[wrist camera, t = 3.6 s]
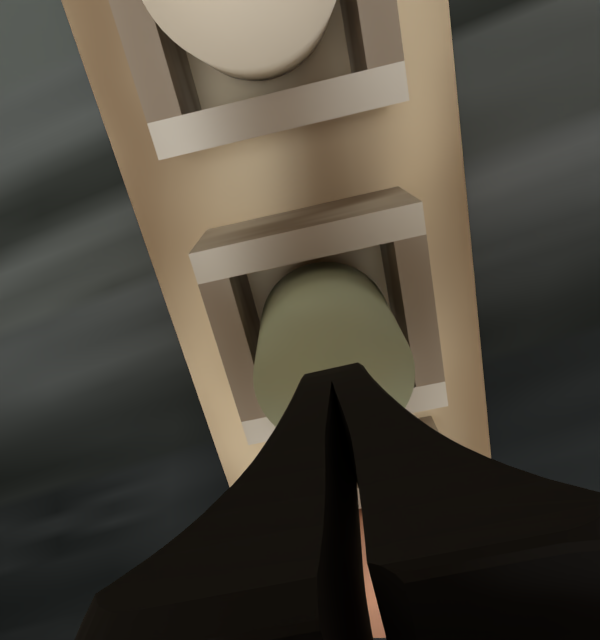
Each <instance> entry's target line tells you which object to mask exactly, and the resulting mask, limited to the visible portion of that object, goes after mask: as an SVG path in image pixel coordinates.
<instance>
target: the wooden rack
mask: <svg viewBox="0 0 600 640" xmlns="http://www.w3.org/2000/svg"><path fill="white" fill-rule="evenodd" d="M61 1H62V4H63V7H64V9H65V12H66V15H67V18H68V21H69V24H70V27H71V30H72V33H73V35H74V38H75V41H76V44H77V47H78V50H79V53H80V56H81V59H82V62H83V64H84V67H85V70H86V73H87V76H88V79H89V82H90V85H91V88H92V90H93V93H94V96H95V99H96V102H97V105H98V108H99V111H100V114H101V116H102V119H103V122H104V125H105V128H106V131H107V134H108V137H109V140H110V143H111V145H112V148H113V151H114V154H115V157H116V160H117V163H118V166H119V169H120V171H121V174H122V177H123V180H124V183H125V186H126V189H127V192H128V195H129V197H130V200H131V203H132V206H133V209H134V212H135V215H136V218H137V221H138V224H139V226H140V229H141V232H142V235H143V238H144V241H145V244H146V247H147V250H148V252H149V255H150V258H151V261H152V264H153V267H154V270H155V273H156V276H157V278H158V281H159V284H160V287H161V290H162V293H163V296H164V299H165V302H166V304H167V307H168V310H169V313H170V316H171V319H172V322H173V325H174V328H175V331H176V333H177V336H178V339H179V342H180V345H181V348H182V351H183V354H184V357H185V359H186V362H187V365H188V368H189V371H190V374H191V377H192V380H193V383H194V385H195V388H196V391H197V394H198V397H199V400H200V403H201V406H202V409H203V412H204V414H205V417H206V420H207V423H208V426H209V429H210V432H211V435H212V438H213V440H214V443H215V446H216V449H217V452H218V455H219V458H220V461H221V464H222V466H223V469H224V472H225V475H226V478H227V481H228V484H229V487H231V486H232V485H233V484H234V483H235V481H236V480H237V479H238V478H239V477H240V476H241V475H242V473H243V472H244V471H245V470H246V469H247V468H248V466H249V465H250V464H251V463H252V461H253V460H254V459H255V457H256V456H257V455H258V453H259V452H260V450H261V449H262V447H263V446H264V444H265V443H266V441H267V440H268V438H269V437H270V435H271V434H272V432H273V431H274V429H275V428H276V427H275V426H274V425H273V424H272V423H271V422H270V421H269V420H268V418H267V417H266V416H265V414H264V413H263V411H262V409H261V407H260V406H259V404H258V401H257V398H256V396H255V391H254V386H253V371H254V363H255V356H256V350H257V343H258V337H259V330H260V324H261V317H262V312H263V307H264V304H265V302H266V299H267V297H268V295H269V293H270V292H271V290H272V289H273V288H274V286H275V285H276V284H277V283H278V282H279V281H280V280H281V279H282V278H283V277H284V276H286V275H287V274H288V273H290V272H292V271H293V270H295V269H297V268H299V267H302V266H304V265H308V264H311V263H317V262H336V263H341V264H346V265H349V266H351V267H354V268H356V269H358V270H360V271H361V272H363V273H364V274H366V275H367V276H368V277H369V278H370V279H372V280H373V281H374V282H375V284H376V285H377V286H378V288H379V289H380V291H381V292H382V294H383V296H384V298H385V300H386V302H387V304H388V306H389V308H390V310H391V311H392V313H393V315H394V317H395V319H396V321H397V323H398V325H399V327H400V329H401V331H402V333H403V335H404V337H405V339H406V341H407V343H408V345H409V347H410V349H411V352H412V355H413V359H414V363H415V383H414V387H413V392H412V394H411V397H410V400H409V402H408V404H407V405H406V407H405V409H407V410H408V411H409V412H410V413H412V414H413V415H415V416H416V417H417V418H419V419H420V420H421V421H423V422H424V423H425V424H427V425H428V426H430V427H431V428H433V429H434V430H436V431H437V432H439V433H441V434H442V435H444V436H446V437H447V438H449V439H451V440H453V441H455V442H456V443H458V444H460V445H462V446H464V447H466V448H469V449H471V450H473V451H475V452H477V453H480V454H482V455H484V456H486V457H488V458H491V451H490V440H489V430H488V419H487V408H486V397H485V387H484V376H483V365H482V355H481V344H480V333H479V323H478V312H477V301H476V290H475V280H474V269H473V258H472V248H471V237H470V226H469V216H468V205H467V194H466V183H465V173H464V162H463V151H462V141H461V130H460V119H459V109H458V98H457V87H456V76H455V66H454V55H453V44H452V34H451V23H450V12H449V2H448V0H336V3H335V5H334V8H333V11H332V13H331V16H330V19H329V21H328V24H327V27H326V29H325V32H324V34H323V36H322V38H321V40H320V42H319V43H318V45H317V46H316V48H315V49H314V51H313V52H312V53H311V54H310V55H309V57H308V58H307V59H306V60H305V61H304V62H303V63H301V64H300V65H299V66H298V67H296V68H295V69H293V70H292V71H291V72H289V73H287V74H285V75H283V76H280V77H277V78H274V79H271V80H265V81H245V80H239V79H236V78H232V77H229V76H227V75H225V74H222V73H221V72H219V71H217V70H215V69H214V68H212V67H211V66H209V65H207V64H206V63H204V62H203V61H201V60H200V59H198V58H196V57H195V56H193V55H192V54H190V53H189V52H187V51H185V50H184V49H183V48H181V47H180V46H179V45H178V44H176V43H175V42H174V41H173V40H172V39H171V38H170V37H169V36H168V35H167V34H166V33H165V32H164V31H163V30H162V29H161V28H160V27H159V25H158V24H157V23H156V22H155V20H154V19H153V18H152V16H151V15H150V13H149V12H148V10H147V8H146V7H145V5H144V4H143V1H142V0H61ZM357 491H358V505H359V509H361V502H360V494H359V488H358V484H357Z"/></svg>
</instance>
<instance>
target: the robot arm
mask: <svg viewBox="0 0 600 640" xmlns="http://www.w3.org/2000/svg"><path fill="white" fill-rule="evenodd" d="M357 484H358V488H359V494H360V502H361V510H362V518H363V528H364V537H365V547H366V559H367V565H368V569H369V573H370V577H371V581H372V584H373V588H374V592H375V596H376V600H377V604H378V608H379V612H380V615H381V619H382V623H383V627H384V631H385V635H386V639H387V640H600V492H596V491H592V490H589V489H585V488H581V487H577V486H573V485H569V484H565V483H561V482H557V481H554V480H550V479H546V478H543V477H540V476H537V475H534V474H531V473H528V472H525V471H522V470H520V469H517V468H514V467H511V466H508V465H506V464H503V463H501V462H498V461H496V460H493V459H491V458H488V457H486V456H484V455H482V454H480V453H477V452H475V451H473V450H471V449H469V448H466V447H464V446H462V445H460V444H458V443H456V442H455V441H453V440H451V439H449V438H447V437H446V436H444V435H442V434H441V433H439V432H437V431H436V430H434V429H433V428H431V427H430V426H428V425H427V424H425V423H424V422H423V421H421V420H420V419H419V418H417V417H416V416H415V415H413V414H412V413H410V412H409V411H408V410H407V409H405V408H404V407H403V406H402V405H401V404H399V403H398V402H397V401H396V400H395V399H394V398H393V397H392V396H390V395H389V394H388V393H387V392H386V391H385V390H384V389H383V388H382V387H381V386H380V385H379V384H378V383H377V382H376V381H375V380H374V379H373V378H372V376H371V375H370V374H369V373H368V372H367V370H366V369H365V367H364V366H363V365H361V364H360V363H358V362H357V363H353V364H348V365H344V366H339V367H334V368H330V369H325V370H321V371H316V372H312V373H307V374H304V375H303V377H302V378H301V380H300V382H299V384H298V386H297V389H296V391H295V393H294V395H293V397H292V399H291V401H290V403H289V405H288V407H287V408H286V410H285V412H284V414H283V415H282V417H281V419H280V421H279V422H278V424H277V426H276V428H275V429H274V431H273V432H272V434H271V435H270V437H269V438H268V440H267V441H266V443H265V444H264V446H263V447H262V449H261V450H260V452H259V453H258V455H257V456H256V457H255V459H254V460H253V461H252V463H251V464H250V465H249V466H248V468H247V469H246V470H245V471H244V472H243V473H242V475H241V476H240V477H239V478H238V479H237V480H236V481H235V483H234V484H233V485H232V486H231V487H230V488H229V489H228V490H227V491H226V492H225V493H224V494H223V495H222V496H221V497H220V498H219V499H218V500H217V501H216V502H215V503H214V504H213V505H212V506H211V507H210V508H209V509H208V510H207V511H206V512H205V513H204V514H202V515H201V516H200V517H199V518H198V519H197V520H196V521H194V522H193V523H192V524H191V525H190V526H189V527H187V528H186V529H185V530H184V531H183V532H182V533H180V534H179V535H178V536H177V537H175V538H174V539H173V540H172V541H170V542H169V543H168V544H167V545H165V546H164V547H163V548H161V549H160V550H159V551H157V552H156V553H155V554H153V555H152V556H151V557H149V558H148V559H147V560H145V561H144V562H142V563H141V564H139V565H138V566H136V567H135V568H133V569H132V570H131V571H129V572H128V573H126V574H125V575H123V576H122V577H120V578H119V579H117V580H116V581H115V582H113V583H112V584H110V585H109V586H107V587H106V588H104V589H102V590H101V591H99V592H98V593H96V594H95V596H94V598H93V601H92V603H91V605H90V607H89V609H88V611H87V613H86V615H85V617H84V619H83V622H82V624H81V626H80V628H79V631H78V633H77V636H76V638H75V640H373V635H372V629H371V623H370V617H369V611H368V605H367V599H366V592H365V583H364V574H363V560H362V546H361V532H360V518H359V505H358V491H357Z"/></svg>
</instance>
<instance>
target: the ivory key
mask: <svg viewBox="0 0 600 640" xmlns="http://www.w3.org/2000/svg"><path fill="white" fill-rule="evenodd" d="M142 1H143V4H144V5H145V7H146V8H147V10H148V12H149V13H150V15H151V16H152V18H153V19H154V20H155V22H156V23H157V24H158V25H159V27H160V28H161V29H162V30H163V31H164V32H165V33H166V34H167V35H168V36H169V37H170V38H171V39H172V40H173V41H174V42H175V43H176V44H178V45H179V46H180V47H181V48H183V49H184V50H185V51H187V52H189V53H190V54H192V55H193V56H195V57H196V58H198V59H200V60H201V61H203V62H204V63H206V64H207V65H209V66H211V67H212V68H214V69H215V70H217V71H219V72H221V73H222V74H225V75H227V76H229V77H232V78H236V79H239V80H245V81H265V80H271V79H274V78H277V77H280V76H283V75H285V74H287V73H289V72H291V71H292V70H293V69H295V68H296V67H298V66H299V65H300V64H301V63H303V62H304V61H305V60H306V59H307V58H308V57H309V55H310V54H311V53H312V52H313V51H314V49H315V48H316V46H317V45H318V43H319V42H320V40H321V38H322V36H323V34H324V32H325V29H326V27H327V24H328V21H329V19H330V16H331V13H332V11H333V8H334V5H335V3H336V0H142Z"/></svg>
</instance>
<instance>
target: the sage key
mask: <svg viewBox="0 0 600 640" xmlns="http://www.w3.org/2000/svg"><path fill="white" fill-rule="evenodd" d="M357 362H358V363H360V364H361V365H363V366H364V367H365V369H366V370H367V372H368V373H369V374H370V375H371V376H372V378H373V379H374V380H375V381H376V382H377V383H378V384H379V385H380V386H381V387H382V388H383V389H384V390H385V391H386V392H387V393H388V394H389V395H390V396H392V397H393V398H394V399H395V400H396V401H397V402H398V403H399V404H401V405H402V406H403V407H404V408H405V407H406V405H407V404H408V402H409V400H410V397H411V394H412V392H413V387H414V383H415V363H414V359H413V355H412V352H411V349H410V347H409V345H408V343H407V341H406V339H405V337H404V335H403V333H402V331H401V329H400V327H399V325H398V323H397V321H396V319H395V317H394V315H393V313H392V311H391V310H390V308H389V306H388V304H387V302H386V300H385V298H384V296H383V294H382V292H381V291H380V289H379V288H378V286H377V285H376V284H375V282H374V281H373V280H372V279H370V278H369V277H368V276H367V275H366V274H364V273H363V272H361V271H360V270H358V269H356V268H354V267H351V266H349V265H346V264H341V263H336V262H317V263H311V264H308V265H304V266H302V267H299V268H297V269H295V270H293V271H292V272H290V273H288V274H287V275H286V276H284V277H283V278H282V279H281V280H280V281H279V282H278V283H277V284H276V285H275V286H274V288H273V289H272V290H271V292H270V293H269V295H268V297H267V299H266V302H265V304H264V307H263V312H262V317H261V324H260V330H259V337H258V343H257V350H256V356H255V363H254V371H253V386H254V391H255V396H256V398H257V401H258V404H259V406H260V407H261V409H262V411H263V413H264V414H265V416H266V417H267V418H268V420H269V421H270V422H271V423H272V424H273V425H274V426H275V427H276V426H277V424H278V422H279V421H280V419H281V417H282V415H283V414H284V412H285V410H286V408H287V407H288V405H289V403H290V401H291V399H292V397H293V395H294V393H295V391H296V389H297V386H298V384H299V382H300V380H301V378H302V377H303V375H304V374H307V373H312V372H316V371H321V370H325V369H330V368H334V367H339V366H344V365H348V364H353V363H357Z"/></svg>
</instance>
